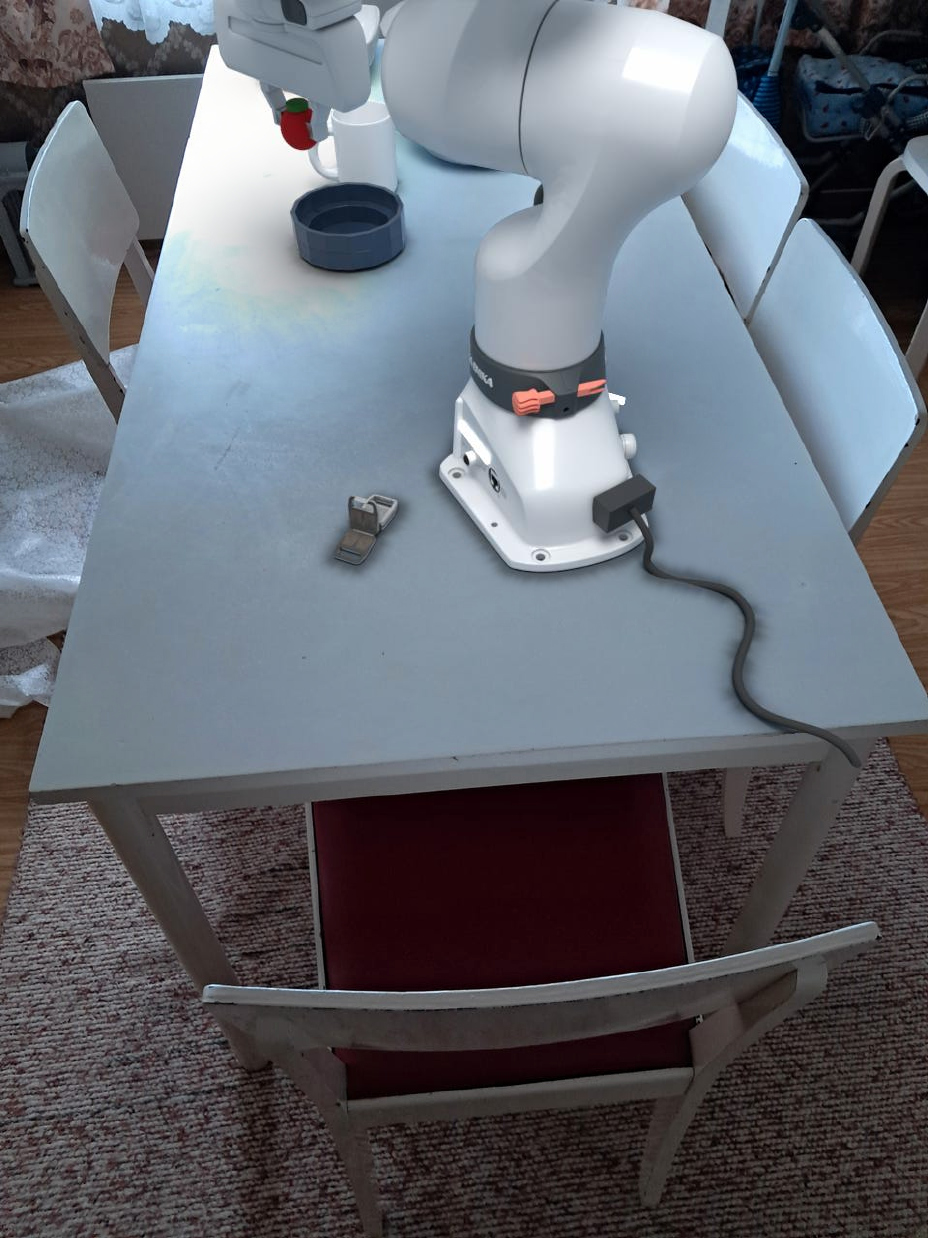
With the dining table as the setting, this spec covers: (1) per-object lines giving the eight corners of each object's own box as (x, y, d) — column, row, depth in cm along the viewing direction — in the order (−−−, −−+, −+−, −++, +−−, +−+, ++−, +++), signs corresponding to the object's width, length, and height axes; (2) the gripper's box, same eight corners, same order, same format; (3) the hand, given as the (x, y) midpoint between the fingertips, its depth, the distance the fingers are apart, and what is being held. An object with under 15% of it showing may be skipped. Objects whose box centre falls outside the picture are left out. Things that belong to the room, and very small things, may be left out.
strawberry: (327, 153, 96) (321, 106, 92) (288, 160, 95) (280, 113, 91) (319, 136, 98) (312, 90, 95) (281, 143, 98) (272, 96, 94)
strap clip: (373, 498, 84) (368, 464, 81) (401, 506, 83) (397, 473, 80) (331, 558, 79) (324, 525, 76) (360, 567, 78) (354, 534, 75)
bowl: (417, 263, 111) (415, 225, 107) (308, 282, 109) (302, 243, 105) (390, 212, 120) (387, 175, 116) (288, 228, 117) (282, 191, 113)
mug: (313, 206, 121) (301, 127, 113) (315, 178, 126) (304, 101, 118) (398, 201, 121) (393, 122, 113) (397, 174, 127) (392, 97, 119)
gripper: (186, -32, 87) (219, 115, 98) (324, 13, 79) (344, 169, 90) (235, -48, 90) (262, 97, 101) (373, -6, 82) (387, 147, 92)
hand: (301, 131), depth 95 cm, fingers closed on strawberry, 4 cm apart
